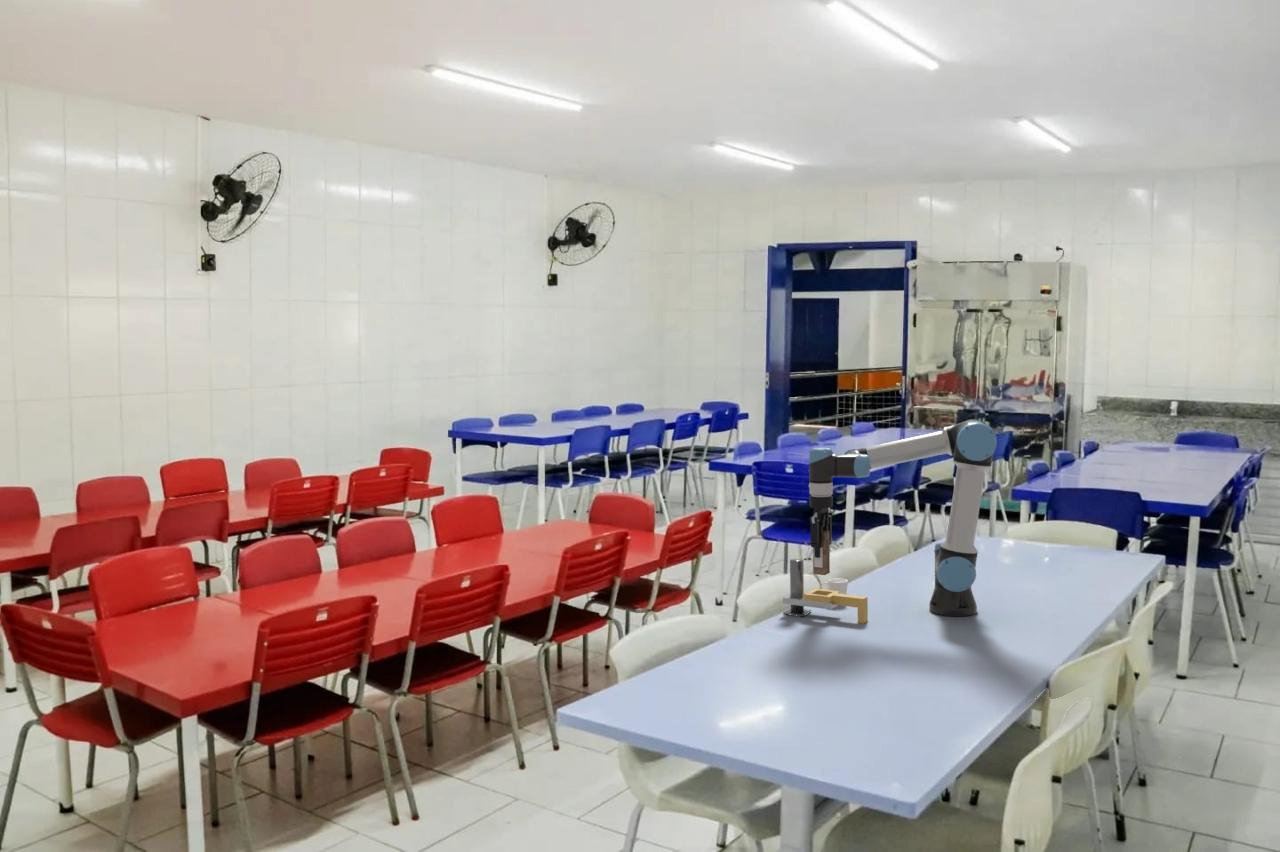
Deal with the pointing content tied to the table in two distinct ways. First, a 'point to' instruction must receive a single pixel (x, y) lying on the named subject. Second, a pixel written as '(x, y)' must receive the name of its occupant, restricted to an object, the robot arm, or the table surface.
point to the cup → (837, 585)
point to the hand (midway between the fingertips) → (821, 565)
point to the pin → (826, 556)
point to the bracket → (840, 601)
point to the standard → (800, 592)
